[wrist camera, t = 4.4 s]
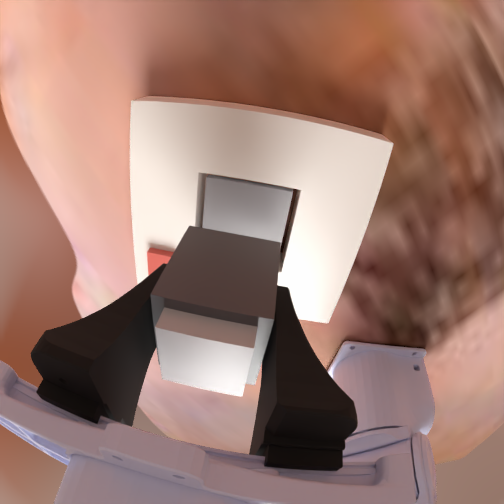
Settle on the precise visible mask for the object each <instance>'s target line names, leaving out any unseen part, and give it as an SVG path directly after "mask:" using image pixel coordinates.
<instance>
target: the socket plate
mask: <svg viewBox="0 0 504 504" xmlns="http://www.w3.org/2000/svg"><path fill="white" fill-rule="evenodd" d="M392 148H393V143H392V142H391V141H390V140H389V139H387V138H386V137H385V136H384V135H382V134H379V133H376V132H372V131H369V130H365V129H362V128H358V127H354V126H350V125H346V124H343V123H339V122H334V121H330V120H326V119H322V118H317V117H313V116H308V115H303V114H298V113H293V112H288V111H283V110H277V109H271V108H265V107H259V106H253V105H246V104H238V103H231V102H223V101H214V100H204V99H193V98H180V97H163V96H146V97H142V98H139V99H135V100H132V101H131V118H130V188H131V212H132V228H133V242H134V254H135V264H136V274H137V283H138V284H139V283H140V282H141V281H143V280H144V279H145V278H146V277H148V276H149V275H150V274H151V273H152V272H153V271H155V270H156V269H157V268H158V267H159V266H161V265H162V264H163V263H165V264H167V263H168V262H169V260H170V258H171V256H172V254H173V253H174V251H175V249H176V247H177V246H178V244H179V242H180V241H181V239H182V237H183V235H184V234H185V232H186V230H187V229H188V227H189V226H195V227H200V228H202V226H203V212H204V199H205V187H206V177H207V173H208V174H214V175H221V176H227V177H233V178H239V179H245V180H251V181H256V182H262V183H267V184H273V185H278V186H283V187H288V188H293V189H297V193H296V198H295V202H294V207H293V211H292V215H291V220H290V224H289V228H288V233H287V237H286V241H285V245H284V249H283V253H282V252H280V259H279V271H278V283H277V285H278V286H284V287H288V288H289V290H290V295H291V299H292V302H293V305H294V309H295V311H296V314H297V317H298V319H303V320H309V321H315V322H321V323H329V320H330V318H331V316H332V314H333V311H334V309H335V307H336V304H337V302H338V300H339V297H340V295H341V293H342V290H343V288H344V285H345V283H346V280H347V278H348V275H349V273H350V270H351V268H352V265H353V263H354V260H355V258H356V255H357V253H358V250H359V247H360V245H361V242H362V239H363V236H364V234H365V231H366V228H367V225H368V223H369V220H370V217H371V214H372V211H373V208H374V205H375V202H376V199H377V196H378V193H379V190H380V187H381V184H382V181H383V178H384V174H385V171H386V168H387V165H388V161H389V158H390V155H391V151H392Z"/></svg>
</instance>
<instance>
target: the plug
mask: <svg viewBox="0 0 504 504" xmlns="http://www.w3.org/2000/svg"><path fill="white" fill-rule="evenodd" d="M280 247H281V242H276V241H271V240H266V239H260V238H255V237H250V236H244V235H239V234H233V233H228V232H223V231H217V230H212V229H206V228H200V227H195V226H189V227H188V229H187V230H186V232H185V234H184V235H183V237H182V239H181V241H180V242H179V244H178V246H177V247H176V249H175V251H174V253H173V254H172V256H171V258H170V260H169V262H168V263H167V265H166V267H165V269H164V270H163V272H162V274H161V276H160V278H159V280H158V281H157V283H156V285H155V287H154V289H153V291H152V292H151V305H152V314H153V323H154V331H155V339H156V347H157V354H158V361H159V365H160V368H161V375H162V379H164V380H168V381H172V382H176V383H180V384H184V385H188V386H192V387H196V388H201V389H205V390H210V391H215V392H220V393H225V394H230V395H235V396H241V397H242V395H243V391H244V387H245V384H251V385H255V383H256V380H257V377H258V373H259V370H260V367H261V363H262V360H263V357H264V353H265V350H266V346H267V343H268V340H269V336H270V333H271V329H272V326H273V322H274V317H275V306H276V295H277V283H278V271H279V259H280Z"/></svg>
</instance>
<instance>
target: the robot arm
mask: <svg viewBox="0 0 504 504" xmlns="http://www.w3.org/2000/svg"><path fill="white" fill-rule="evenodd" d="M166 265H167V264H165V263H163V264H162V265H161V266H159V267H158V268H157V269H156V270H155V271H153V272H152V273H151V274H150V275H149V276H148V277H146V278H145V279H144V280H143V281H141V282H140V283H139V284H138V285H136V286H135V287H134V288H133V289H131V290H130V291H129V292H127V293H126V294H124V295H123V296H122V297H120V298H119V299H117V300H116V301H114V302H113V303H111V304H110V305H108V306H106V307H104V308H103V309H101V310H99V311H97V312H95V313H93V314H91V315H89V316H87V317H85V318H82V319H80V320H78V321H75V322H72V323H70V324H67V325H64V326H61V327H57V328H54V329H51V330H47V331H45V332H44V334H43V335H42V336H41V338H40V339H39V341H38V342H37V344H36V345H35V347H34V349H33V350H32V352H31V358H32V361H33V363H34V365H35V366H36V368H37V369H38V371H39V373H40V374H41V376H42V377H43V381H42V382H41V384H40V386H39V388H37V387H35V386H34V385H32V384H30V383H28V382H26V381H24V380H22V379H21V378H19V377H18V376H17V374H16V373H15V371H14V370H13V369H12V368H11V367H10V366H9V365H7V364H5V363H4V362H2V361H0V424H1V425H3V426H4V427H6V428H7V429H8V430H10V431H12V432H13V433H14V434H16V435H17V436H19V437H21V438H22V439H24V440H25V441H27V442H28V443H30V444H31V445H33V446H35V447H36V448H38V449H40V450H41V451H43V452H45V453H46V454H48V455H50V456H52V457H53V458H55V459H57V460H59V461H60V462H62V463H64V464H66V465H68V466H67V469H66V472H65V475H64V477H63V480H62V482H61V485H60V488H59V490H58V493H57V496H56V499H55V501H54V504H436V502H437V494H436V471H435V463H434V458H433V453H432V448H431V445H430V441H429V439H428V436H427V434H428V432H429V431H430V429H431V427H432V424H433V421H434V415H435V403H434V398H433V394H432V390H431V386H430V382H429V378H428V374H427V371H426V367H425V363H424V360H423V357H424V356H425V355H426V350H425V349H421V348H409V347H398V346H388V345H379V344H370V343H361V342H353V341H345V342H344V343H343V344H342V346H341V347H340V349H339V351H338V353H337V355H336V357H335V358H334V360H333V362H332V364H331V365H330V367H329V369H328V371H326V369H325V368H324V366H323V365H322V364H321V362H320V361H319V359H318V358H317V356H316V354H315V353H314V351H313V349H312V347H311V346H310V344H309V342H308V340H307V338H306V336H305V334H304V331H303V329H302V327H301V325H300V322H299V319H298V317H297V314H296V311H295V309H294V305H293V302H292V299H291V295H290V290H289V288H288V287H284V286H278V285H277V295H276V306H275V317H274V322H273V326H272V329H271V333H270V336H269V340H268V343H267V346H266V350H265V353H264V357H263V360H262V378H261V388H260V394H259V401H258V407H257V413H256V420H255V425H254V431H253V437H252V442H251V447H250V453H249V454H243V453H237V452H231V451H225V450H220V449H215V448H210V447H205V446H200V445H196V444H191V443H187V442H183V441H179V440H175V439H171V438H168V437H164V436H160V435H157V434H153V433H150V432H146V431H143V430H140V429H137V428H134V427H132V425H133V420H134V415H135V411H136V407H137V403H138V399H139V396H140V392H141V389H142V385H143V382H144V378H145V375H146V372H147V369H148V366H149V363H150V360H151V358H152V355H153V353H154V351H155V349H156V339H155V331H154V323H153V314H152V305H151V292H152V291H153V289H154V287H155V285H156V283H157V281H158V280H159V278H160V276H161V274H162V272H163V270H164V269H165V267H166ZM417 499H418V500H417Z"/></svg>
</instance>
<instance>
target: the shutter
mask: <svg viewBox="0 0 504 504" xmlns="http://www.w3.org/2000/svg"><path fill="white" fill-rule="evenodd" d="M292 195H293V189H290V188H285V187H279V186H274V185H269V184H263V183H258V182H252V181H246V180H240V179H234V178H228V177H222V176H216V175H209V174H208V176H207V177H206V187H205V199H204V212H203V226H202V228H206V229H212V230H217V231H223V232H228V233H233V234H239V235H244V236H250V237H255V238H260V239H266V240H271V241H276V242H281V243H282V239H283V235H284V230H285V226H286V222H287V217H288V213H289V208H290V204H291V199H292ZM280 248H281V247H280Z"/></svg>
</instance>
